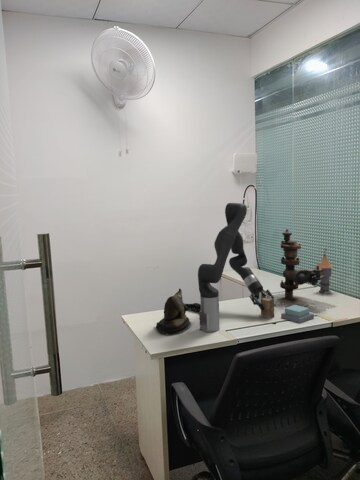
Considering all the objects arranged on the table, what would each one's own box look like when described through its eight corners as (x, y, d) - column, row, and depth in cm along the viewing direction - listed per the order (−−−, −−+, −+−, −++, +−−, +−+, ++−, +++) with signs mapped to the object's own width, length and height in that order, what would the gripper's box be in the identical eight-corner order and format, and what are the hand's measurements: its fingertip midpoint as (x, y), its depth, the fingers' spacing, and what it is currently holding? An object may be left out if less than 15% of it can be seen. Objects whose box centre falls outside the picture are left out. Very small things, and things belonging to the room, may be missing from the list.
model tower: (312, 291, 258) (312, 247, 255) (326, 289, 261) (326, 246, 258) (321, 295, 249) (322, 249, 246) (336, 293, 252) (336, 248, 249)
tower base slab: (299, 324, 198) (299, 318, 197) (281, 318, 207) (281, 313, 207) (313, 319, 204) (313, 313, 204) (295, 314, 214) (295, 309, 214)
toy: (171, 310, 235) (208, 316, 214) (170, 301, 235) (207, 306, 214) (180, 307, 241) (217, 312, 220) (179, 298, 241) (216, 303, 220)
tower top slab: (299, 317, 199) (299, 311, 199) (284, 313, 206) (284, 308, 206) (309, 313, 205) (309, 308, 204) (294, 310, 212) (294, 304, 212)
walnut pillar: (268, 318, 206) (267, 300, 205) (261, 316, 210) (260, 298, 209) (274, 316, 209) (274, 298, 208) (267, 314, 213) (267, 297, 212)
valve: (338, 307, 224) (340, 230, 219) (317, 313, 212) (318, 232, 208) (282, 293, 258) (282, 227, 254) (261, 298, 247) (261, 229, 242)
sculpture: (173, 318, 213) (176, 284, 208) (199, 330, 202) (203, 295, 197) (144, 331, 195) (147, 294, 191) (170, 345, 184) (174, 306, 180)
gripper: (247, 282, 210) (263, 307, 202) (265, 278, 218) (281, 302, 210) (240, 290, 215) (256, 314, 207) (258, 285, 223) (274, 309, 215)
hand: (269, 308), depth 208 cm, fingers open, 8 cm apart
